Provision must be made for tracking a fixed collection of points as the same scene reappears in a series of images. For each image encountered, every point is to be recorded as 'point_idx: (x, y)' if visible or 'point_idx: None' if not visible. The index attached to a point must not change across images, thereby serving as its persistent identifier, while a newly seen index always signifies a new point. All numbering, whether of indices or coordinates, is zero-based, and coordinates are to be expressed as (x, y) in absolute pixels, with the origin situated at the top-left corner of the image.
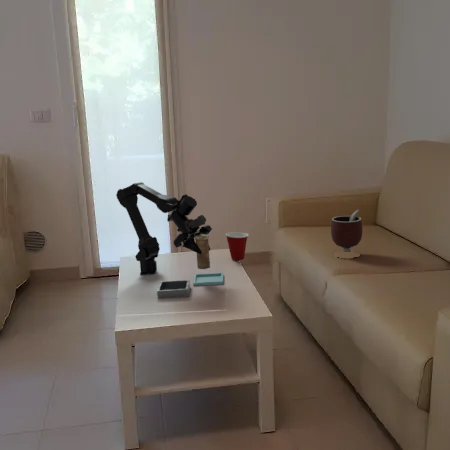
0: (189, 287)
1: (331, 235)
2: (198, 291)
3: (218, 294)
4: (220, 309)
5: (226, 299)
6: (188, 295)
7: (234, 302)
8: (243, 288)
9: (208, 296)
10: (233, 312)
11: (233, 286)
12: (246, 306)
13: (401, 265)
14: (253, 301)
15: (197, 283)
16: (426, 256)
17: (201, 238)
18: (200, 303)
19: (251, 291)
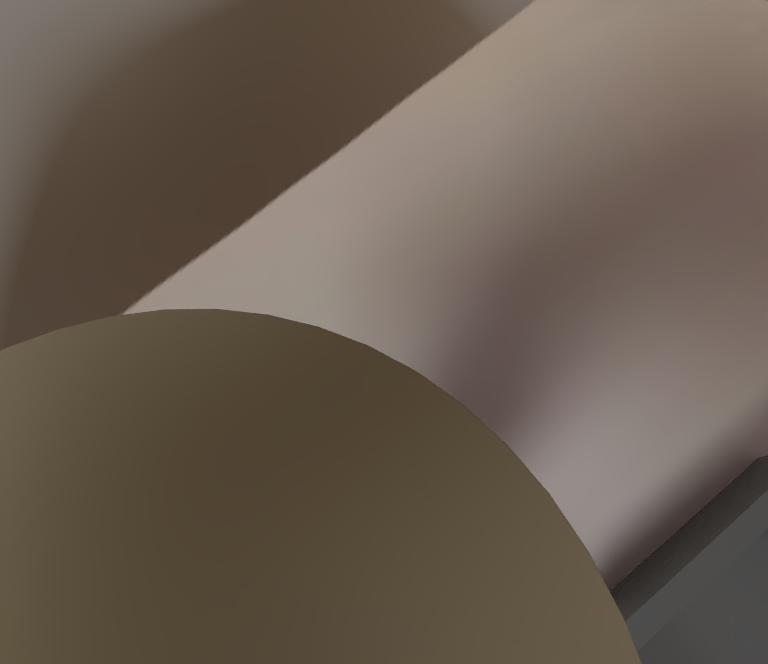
0: (628, 590)
1: None
2: (576, 491)
3: (533, 295)
4: (737, 132)
5: (579, 194)
6: (750, 472)
7: (589, 128)
8: (330, 216)
9: (614, 335)
10: (716, 56)
11: (322, 301)
12: (596, 49)
13: None
14: (507, 57)
15: None
16: None
17: (529, 489)
18: (762, 297)
19: (360, 145)
